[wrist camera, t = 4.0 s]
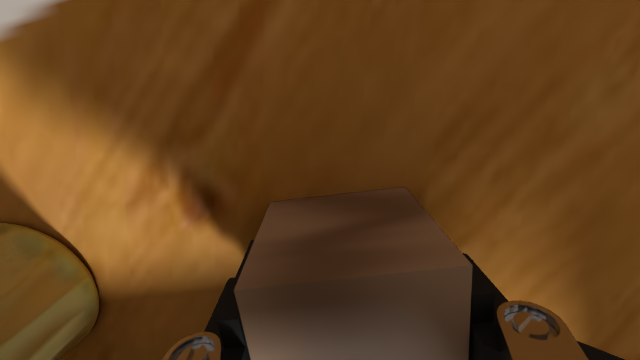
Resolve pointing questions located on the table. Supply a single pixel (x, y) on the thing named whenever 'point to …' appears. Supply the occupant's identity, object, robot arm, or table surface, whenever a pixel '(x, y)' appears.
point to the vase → (42, 296)
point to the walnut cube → (354, 282)
